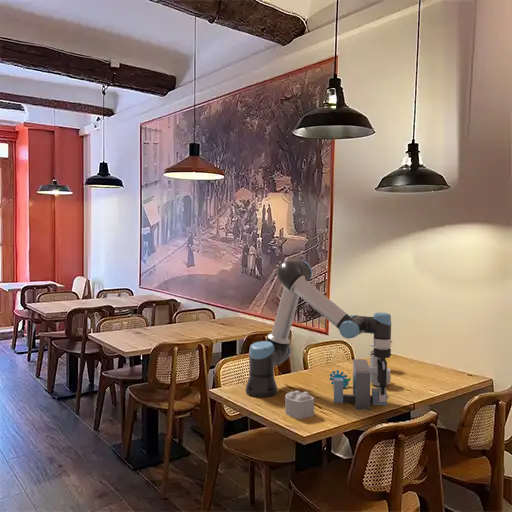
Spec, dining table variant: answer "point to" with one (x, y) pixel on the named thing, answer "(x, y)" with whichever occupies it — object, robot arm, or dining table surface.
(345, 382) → the blue spiked virus model
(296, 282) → the robot arm
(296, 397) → the lumpy-topped squat cylinder
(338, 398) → the blue-grey u-shaped block
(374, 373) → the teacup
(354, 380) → the block
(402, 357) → the dining table surface
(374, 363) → the french press
